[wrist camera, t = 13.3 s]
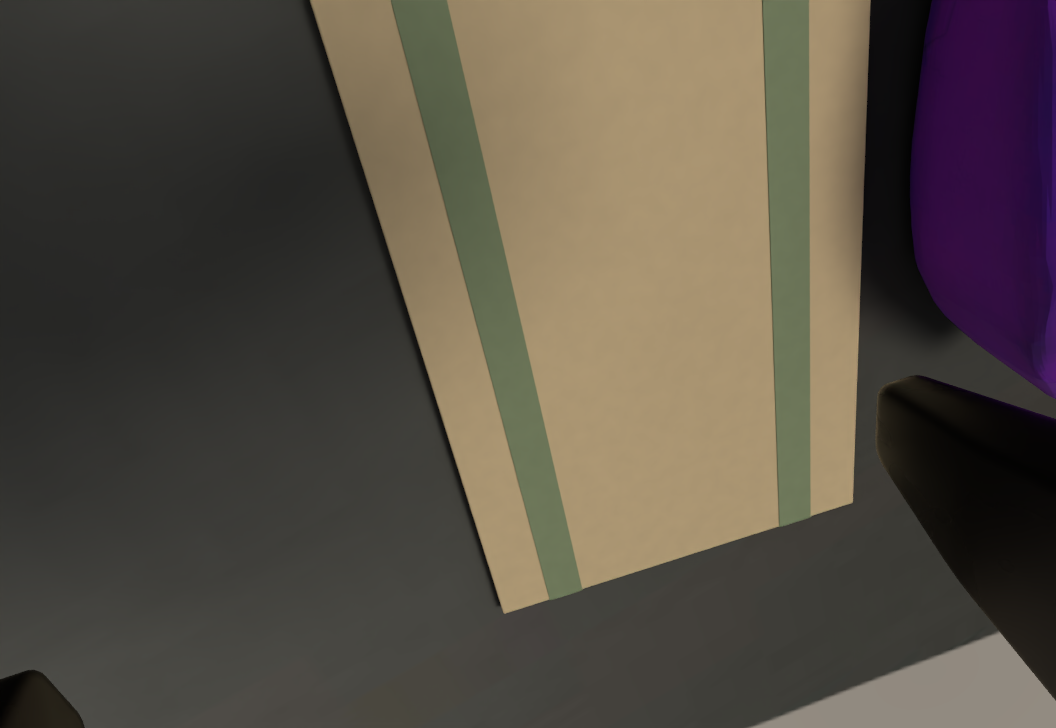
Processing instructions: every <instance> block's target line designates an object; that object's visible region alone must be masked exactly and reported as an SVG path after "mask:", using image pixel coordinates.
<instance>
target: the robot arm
mask: <svg viewBox="0 0 1056 728" xmlns="http://www.w3.org/2000/svg"><path fill="white" fill-rule="evenodd" d="M875 441H876V449H877V453H878V456H879V458H880V461H881V463H882V464H883V466H884V468H885V469H886V471H887V472H888V474H889V475H890V477H891V478H892V480H893V482H894V483H895V485H896V486H897V488H898V489H899V491H900V492H901V494H902V495H903V497H904V499H905V500H906V502H907V503H908V505H909V506H910V508H911V509H912V511H913V512H914V514H915V515H916V517H917V519H918V520H919V522H920V523H921V525H922V526H923V528H924V529H925V531H926V532H927V534H928V536H929V537H930V539H931V540H932V542H933V543H934V545H935V546H936V548H937V549H938V551H939V553H940V554H941V556H942V557H943V559H944V560H945V562H946V563H947V565H948V566H949V567H950V569H951V570H952V572H953V573H954V575H955V576H956V578H957V579H958V580H959V582H960V583H961V584H962V585H963V587H964V588H965V589H966V591H967V592H968V593H969V594H970V596H971V597H972V598H973V599H974V601H975V602H976V603H977V604H978V606H979V607H980V608H981V609H982V611H983V612H984V613H985V614H986V615H987V617H988V618H989V619H990V620H991V622H992V623H993V624H994V625H995V627H996V628H997V629H998V630H999V631H1000V633H1001V634H1002V635H1003V636H1004V638H1005V639H1006V640H1007V641H1008V642H1009V644H1010V645H1011V646H1012V647H1013V649H1014V650H1015V651H1016V652H1017V654H1018V655H1019V656H1020V657H1021V658H1022V660H1023V661H1024V662H1025V663H1026V665H1027V666H1028V667H1029V668H1030V669H1031V671H1032V672H1033V673H1034V674H1035V676H1036V677H1037V678H1038V679H1039V681H1040V682H1041V683H1042V684H1043V686H1044V687H1045V688H1046V689H1047V690H1048V692H1049V693H1050V694H1051V695H1052V697H1053V698H1054V699H1055V700H1056V419H1054V418H1051V417H1047V416H1044V415H1041V414H1038V413H1035V412H1032V411H1029V410H1026V409H1023V408H1020V407H1017V406H1014V405H1011V404H1008V403H1005V402H1001V401H998V400H995V399H992V398H989V397H986V396H983V395H980V394H977V393H974V392H971V391H968V390H965V389H962V388H958V387H955V386H952V385H949V384H946V383H943V382H940V381H937V380H934V379H931V378H928V377H924V376H920V375H914V376H909V377H906V378H903V379H900V380H897V381H894V382H891V383H888V384H886V385H884V386H883V387H881V389H880V391H879V393H878V397H877V417H876V440H875ZM0 728H85V727H84V724H83V721H82V719H81V717H80V715H79V714H78V712H77V711H76V710H75V709H74V707H73V706H72V705H71V704H70V703H69V702H68V701H67V700H66V699H65V697H64V696H63V695H62V694H61V693H60V692H59V691H58V690H57V688H56V687H55V686H54V685H53V684H52V683H51V682H50V681H49V679H48V678H47V677H46V676H45V675H44V674H43V673H41V672H39V671H36V670H27V671H24V672H21V673H18V674H15V675H12V676H9V677H6V678H3V679H0Z"/></svg>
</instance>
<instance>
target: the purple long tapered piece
mask: <svg viewBox="0 0 1056 728" xmlns="http://www.w3.org/2000/svg"><path fill="white" fill-rule="evenodd" d="M910 207H911V226H912V235H913V246H914V254H915V260H916V263H917V266H918V270H919V272H920V274H921V276H922V278H923V280H924V282H925V284H926V286H927V288H928V290H929V292H930V294H931V296H932V299H933V300H934V302H935V303H936V305H937V306H938V307H939V309H940V310H941V311H942V312H943V314H944V315H945V316H946V317H947V318H948V319H949V320H950V321H951V322H953V323H954V324H955V325H956V326H957V327H958V328H959V329H960V330H961V331H963V332H964V333H965V334H966V335H967V336H968V337H970V338H971V339H972V340H973V341H974V342H975V343H977V344H978V345H979V346H981V347H982V348H984V349H985V350H986V351H988V352H989V353H990V354H992V355H993V356H994V357H996V358H997V359H999V360H1000V361H1001V362H1003V363H1004V364H1005V365H1007V366H1008V367H1010V368H1011V369H1012V370H1014V371H1015V372H1017V373H1018V374H1019V375H1021V376H1022V377H1024V378H1025V379H1026V380H1028V381H1029V382H1030V383H1032V384H1033V385H1035V386H1036V387H1037V388H1039V389H1040V390H1041V391H1043V392H1044V393H1046V394H1047V395H1049V396H1051V397H1053V398H1055V399H1056V0H932V3H931V8H930V13H929V18H928V23H927V28H926V33H925V41H924V49H923V57H922V65H921V73H920V81H919V89H918V97H917V105H916V113H915V122H914V130H913V139H912V153H911V168H910Z"/></svg>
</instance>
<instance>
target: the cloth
mask: <svg viewBox="0 0 1056 728" xmlns="http://www.w3.org/2000/svg"><path fill="white" fill-rule="evenodd" d="M870 2H871V0H310V3H311V6H312V9H313V12H314V15H315V18H316V22H317V25H318V28H319V31H320V34H321V37H322V41H323V44H324V47H325V50H326V53H327V56H328V60H329V63H330V66H331V69H332V72H333V75H334V79H335V82H336V85H337V88H338V91H339V94H340V98H341V101H342V104H343V107H344V110H345V113H346V117H347V120H348V123H349V126H350V129H351V132H352V136H353V139H354V142H355V145H356V148H357V151H358V155H359V158H360V161H361V164H362V167H363V170H364V174H365V177H366V180H367V183H368V186H369V189H370V192H371V196H372V199H373V202H374V205H375V208H376V211H377V215H378V218H379V221H380V224H381V227H382V230H383V234H384V237H385V240H386V243H387V246H388V249H389V253H390V256H391V259H392V262H393V265H394V268H395V272H396V275H397V278H398V281H399V284H400V287H401V291H402V294H403V297H404V300H405V303H406V306H407V310H408V313H409V316H410V319H411V322H412V325H413V329H414V332H415V335H416V338H417V341H418V344H419V348H420V351H421V354H422V357H423V360H424V363H425V367H426V370H427V373H428V376H429V379H430V382H431V386H432V389H433V392H434V395H435V398H436V401H437V405H438V408H439V411H440V414H441V417H442V420H443V423H444V427H445V430H446V433H447V436H448V439H449V442H450V446H451V449H452V452H453V455H454V458H455V461H456V465H457V468H458V471H459V474H460V477H461V480H462V484H463V487H464V490H465V493H466V496H467V499H468V503H469V506H470V509H471V512H472V515H473V518H474V522H475V525H476V528H477V531H478V534H479V537H480V541H481V544H482V547H483V550H484V553H485V556H486V560H487V563H488V566H489V569H490V572H491V575H492V579H493V582H494V585H495V588H496V591H497V594H498V598H499V601H500V604H501V607H502V610H503V613H504V614H505V613H508V612H511V611H514V610H518V609H521V608H524V607H527V606H530V605H533V604H536V603H540V602H543V601H546V600H549V599H550V600H553V599H556V598H559V597H563V596H566V595H569V594H572V593H575V592H578V591H581V590H582V589H583V588H587V587H590V586H593V585H596V584H599V583H602V582H605V581H608V580H612V579H615V578H618V577H621V576H624V575H627V574H630V573H634V572H637V571H640V570H643V569H646V568H649V567H652V566H656V565H659V564H662V563H665V562H668V561H671V560H674V559H677V558H681V557H684V556H687V555H690V554H693V553H696V552H699V551H703V550H706V549H709V548H712V547H715V546H718V545H721V544H724V543H728V542H731V541H734V540H737V539H740V538H743V537H746V536H750V535H753V534H756V533H759V532H762V531H765V530H768V529H771V528H775V527H778V526H779V527H782V526H785V525H788V524H791V523H794V522H798V521H801V520H804V519H807V518H810V517H811V516H812V515H815V514H818V513H822V512H825V511H828V510H831V509H834V508H837V507H840V506H844V505H847V504H850V503H852V502H853V479H854V451H855V423H856V395H857V366H858V338H859V310H860V282H861V254H862V226H863V198H864V170H865V142H866V114H867V86H868V58H869V30H870Z"/></svg>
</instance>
